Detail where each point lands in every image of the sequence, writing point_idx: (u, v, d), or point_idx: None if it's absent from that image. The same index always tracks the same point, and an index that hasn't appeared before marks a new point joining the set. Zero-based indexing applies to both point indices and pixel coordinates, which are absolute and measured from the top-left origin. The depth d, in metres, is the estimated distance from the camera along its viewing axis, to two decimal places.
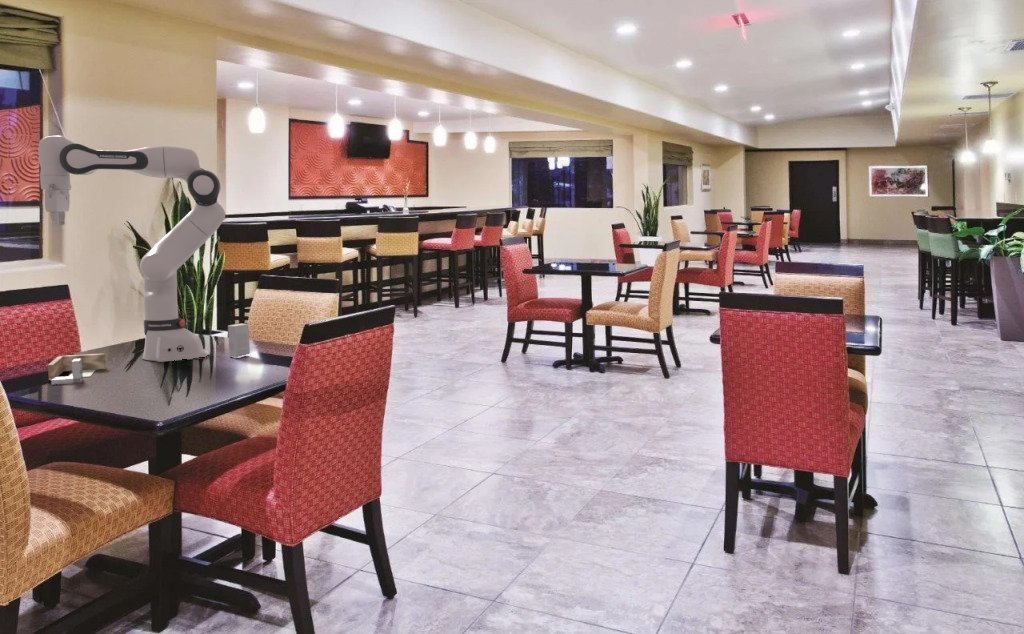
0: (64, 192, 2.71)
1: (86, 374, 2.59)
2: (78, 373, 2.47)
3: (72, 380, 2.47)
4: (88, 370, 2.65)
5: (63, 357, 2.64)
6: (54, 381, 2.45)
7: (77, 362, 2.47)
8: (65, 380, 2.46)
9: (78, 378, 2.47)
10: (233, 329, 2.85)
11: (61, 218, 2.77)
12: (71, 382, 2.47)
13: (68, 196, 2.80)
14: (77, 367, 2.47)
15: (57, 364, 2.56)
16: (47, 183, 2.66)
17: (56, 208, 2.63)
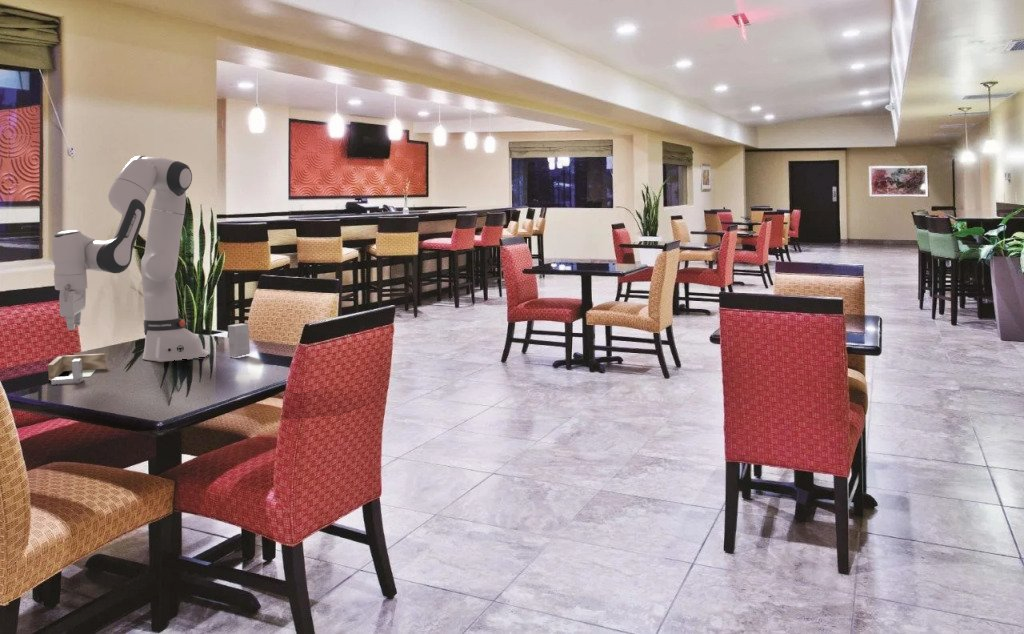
0: (80, 292, 2.45)
1: (86, 374, 2.59)
2: (78, 373, 2.47)
3: (72, 380, 2.47)
4: (88, 370, 2.65)
5: (63, 357, 2.64)
6: (54, 381, 2.45)
7: (77, 362, 2.47)
8: (65, 380, 2.46)
9: (78, 378, 2.47)
10: (233, 329, 2.85)
11: (77, 318, 2.52)
12: (71, 382, 2.47)
13: (84, 293, 2.54)
14: (77, 367, 2.47)
15: (57, 364, 2.56)
16: (62, 284, 2.41)
17: (72, 313, 2.38)
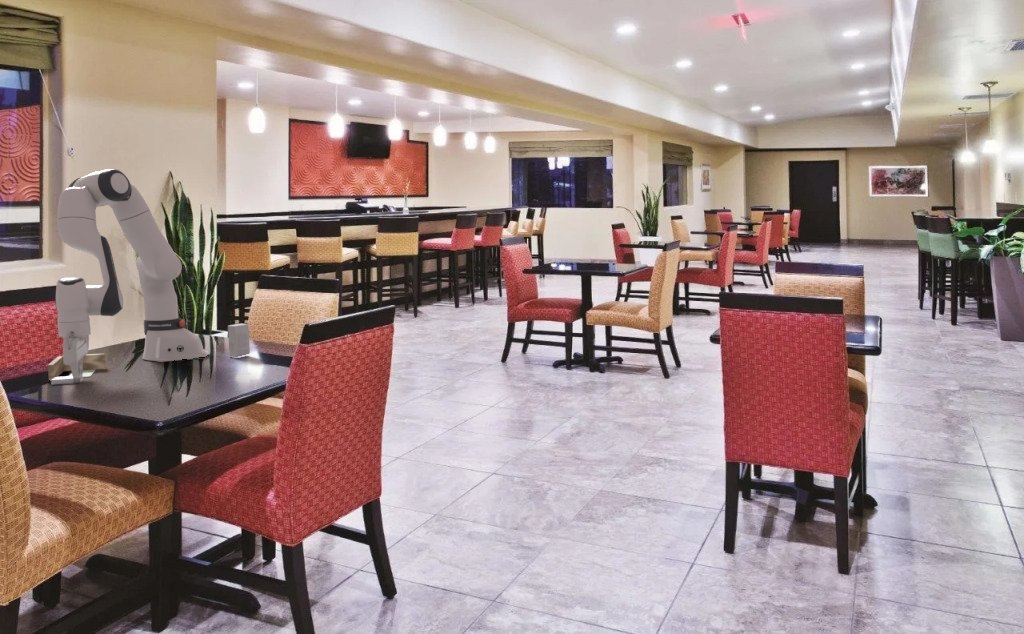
0: (84, 338, 2.47)
1: (86, 374, 2.59)
2: None
3: (72, 380, 2.47)
4: (88, 370, 2.65)
5: None
6: (54, 381, 2.45)
7: None
8: (65, 380, 2.46)
9: (78, 378, 2.47)
10: (233, 329, 2.85)
11: None
12: (71, 382, 2.47)
13: (87, 338, 2.56)
14: None
15: (57, 364, 2.56)
16: (65, 331, 2.43)
17: (75, 360, 2.40)
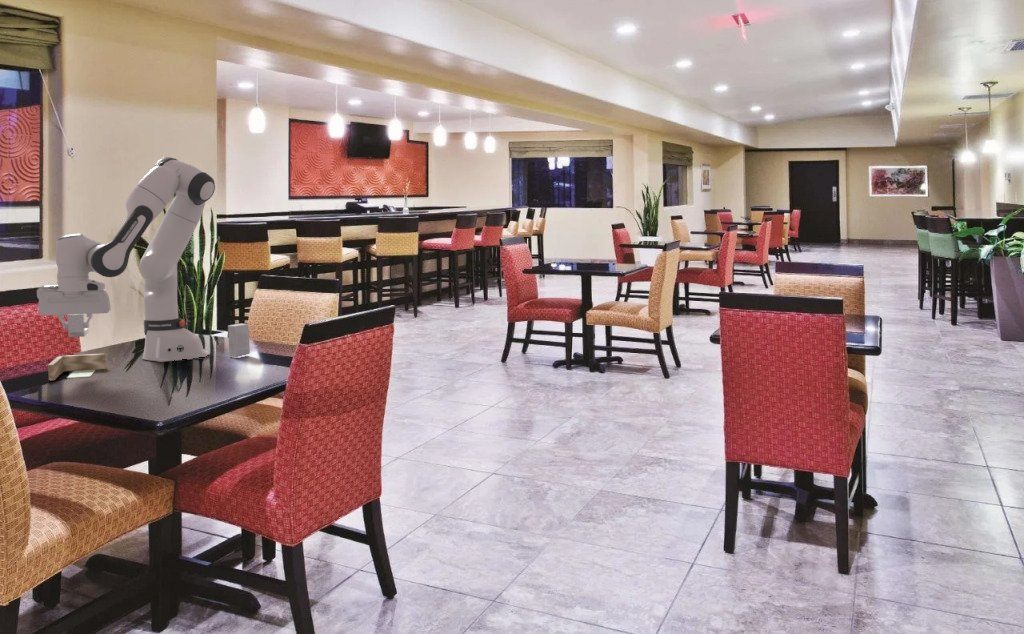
0: (67, 294, 2.51)
1: (86, 374, 2.59)
2: (68, 327, 2.54)
3: None
4: (88, 370, 2.65)
5: (63, 357, 2.64)
6: None
7: None
8: None
9: None
10: (233, 329, 2.85)
11: (87, 320, 2.56)
12: None
13: (101, 297, 2.55)
14: None
15: (57, 364, 2.56)
16: None
17: (39, 311, 2.50)
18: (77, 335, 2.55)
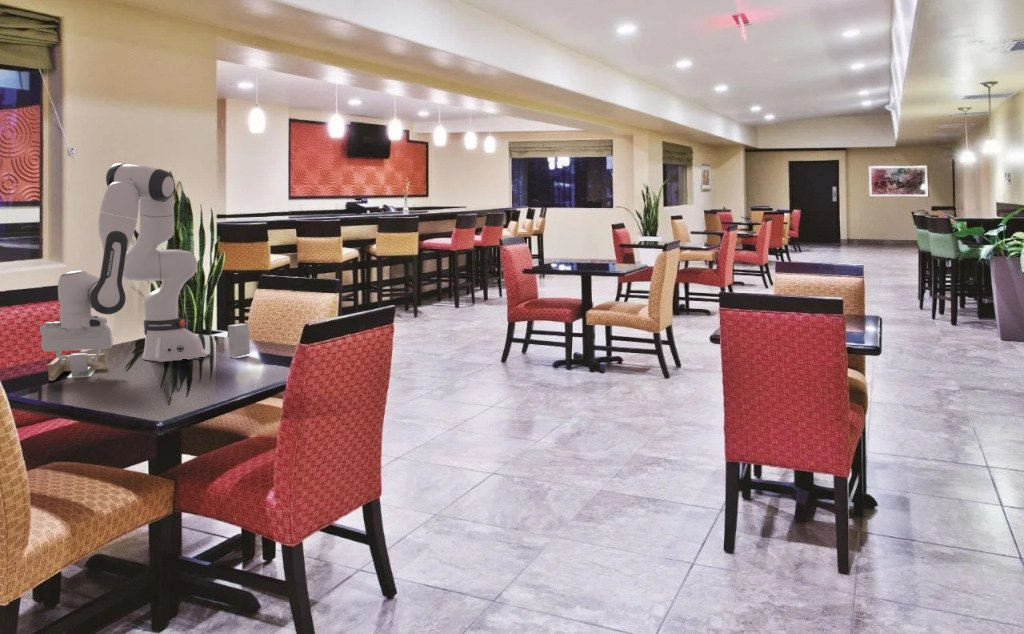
0: (69, 331, 2.52)
1: None
2: (71, 366, 2.56)
3: None
4: None
5: (63, 357, 2.64)
6: None
7: None
8: None
9: None
10: (233, 329, 2.85)
11: (95, 355, 2.58)
12: None
13: (103, 333, 2.56)
14: None
15: (57, 364, 2.56)
16: None
17: (42, 348, 2.52)
18: (80, 374, 2.57)
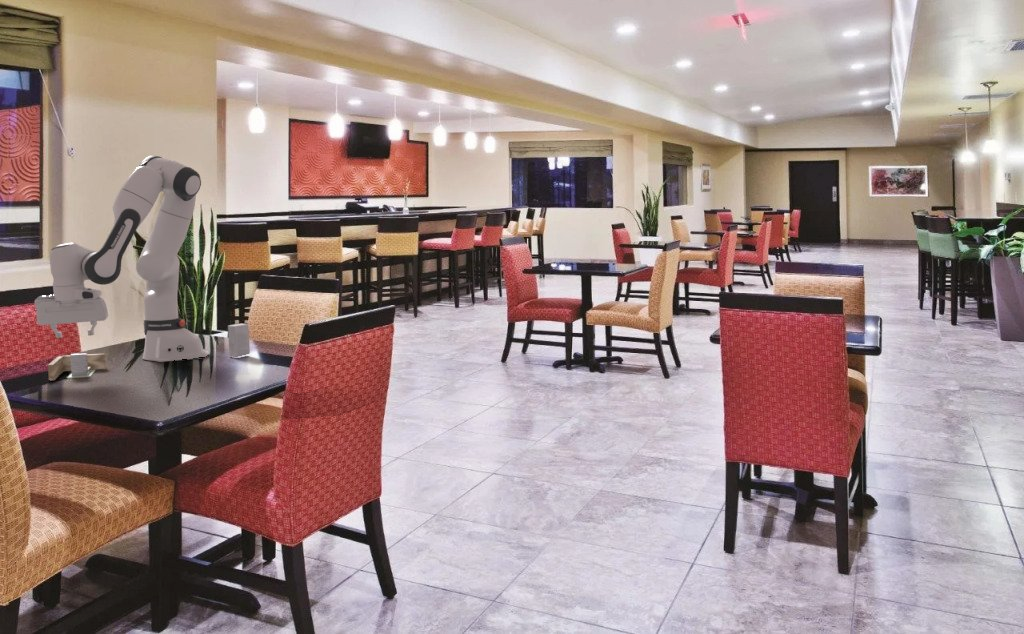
0: (63, 303, 2.52)
1: None
2: (71, 366, 2.56)
3: None
4: None
5: (63, 357, 2.64)
6: None
7: None
8: None
9: None
10: (233, 329, 2.85)
11: (91, 328, 2.58)
12: None
13: (97, 305, 2.56)
14: None
15: (57, 364, 2.56)
16: None
17: (37, 322, 2.52)
18: (80, 374, 2.57)
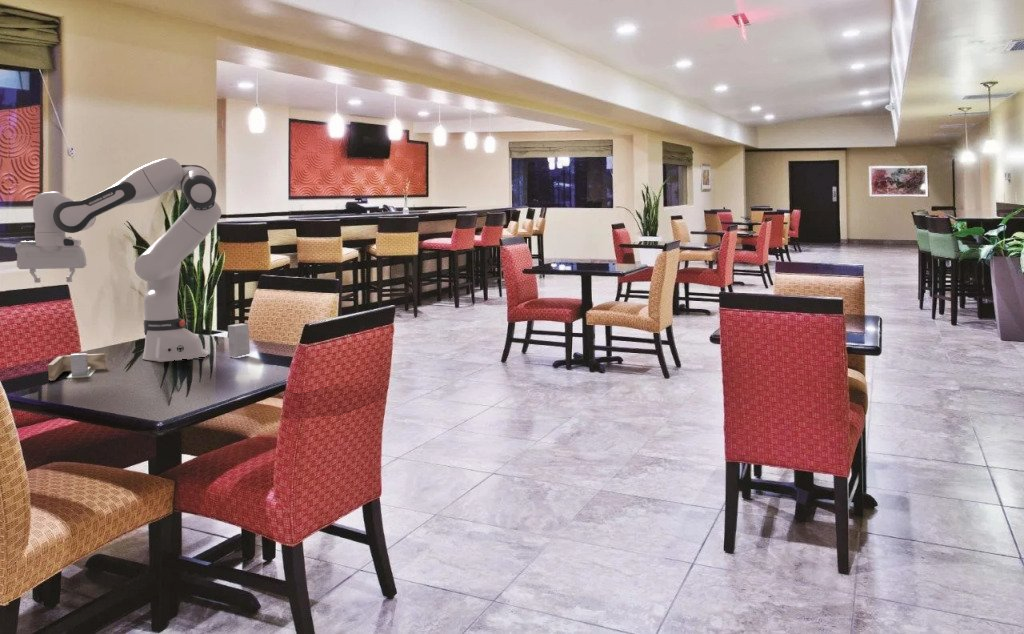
0: (44, 249, 2.63)
1: None
2: (71, 366, 2.56)
3: None
4: None
5: (63, 357, 2.64)
6: None
7: None
8: None
9: None
10: (233, 329, 2.85)
11: (70, 275, 2.68)
12: None
13: (77, 252, 2.66)
14: None
15: (57, 364, 2.56)
16: None
17: (17, 266, 2.62)
18: (80, 374, 2.57)
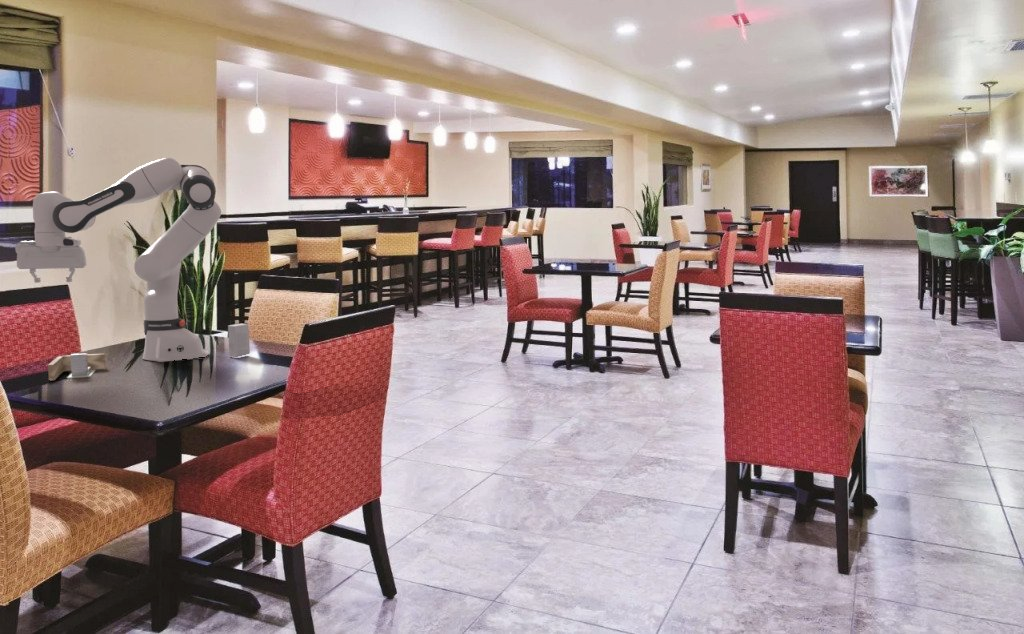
0: (44, 249, 2.63)
1: None
2: (71, 366, 2.56)
3: None
4: None
5: (63, 357, 2.64)
6: None
7: None
8: None
9: None
10: (233, 329, 2.85)
11: (69, 275, 2.69)
12: None
13: (77, 252, 2.67)
14: None
15: (57, 364, 2.56)
16: None
17: (17, 265, 2.62)
18: (80, 374, 2.57)
